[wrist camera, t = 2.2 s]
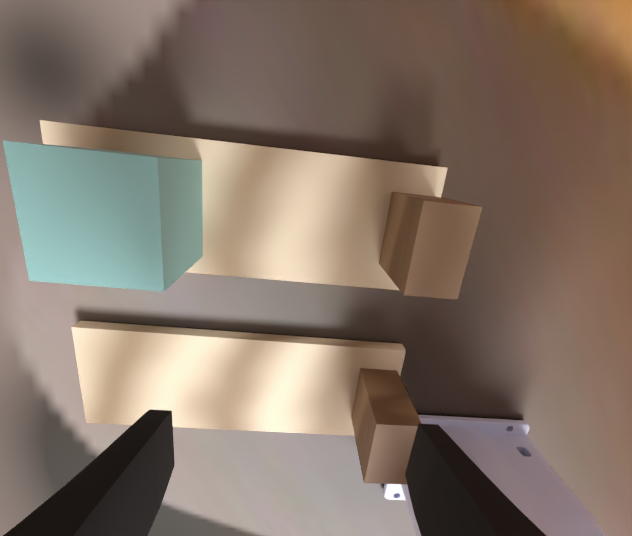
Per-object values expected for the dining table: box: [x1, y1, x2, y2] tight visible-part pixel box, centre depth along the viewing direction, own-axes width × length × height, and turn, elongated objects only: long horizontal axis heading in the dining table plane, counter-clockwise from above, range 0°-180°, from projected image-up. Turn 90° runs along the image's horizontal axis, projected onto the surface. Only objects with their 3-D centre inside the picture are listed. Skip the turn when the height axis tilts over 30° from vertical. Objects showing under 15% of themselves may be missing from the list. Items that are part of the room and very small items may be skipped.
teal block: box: [3, 141, 203, 291], centre depth 14 cm, size 5×5×5 cm
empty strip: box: [72, 321, 422, 485], centre depth 18 cm, size 20×7×5 cm, turn 84°
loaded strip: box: [40, 120, 482, 300], centre depth 15 cm, size 20×7×5 cm, turn 84°
